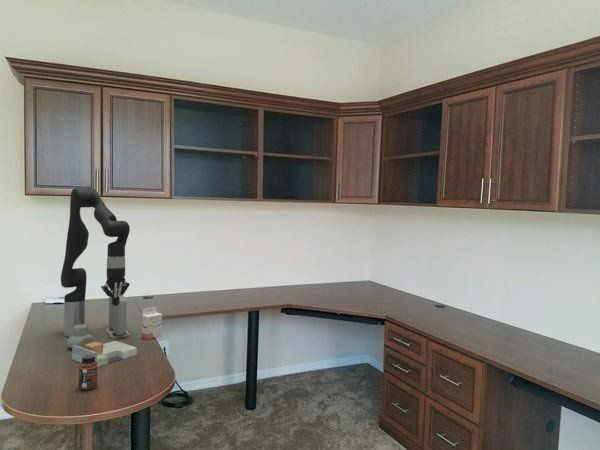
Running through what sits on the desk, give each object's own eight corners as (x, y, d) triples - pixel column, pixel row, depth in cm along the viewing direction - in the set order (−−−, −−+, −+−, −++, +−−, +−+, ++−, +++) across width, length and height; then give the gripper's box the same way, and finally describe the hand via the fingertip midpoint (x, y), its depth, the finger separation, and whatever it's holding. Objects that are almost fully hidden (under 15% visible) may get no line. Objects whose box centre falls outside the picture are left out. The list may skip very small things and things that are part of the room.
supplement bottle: (87, 392, 148) (87, 360, 148) (74, 388, 151) (74, 357, 150) (100, 385, 154) (101, 354, 154) (88, 382, 156) (88, 352, 156)
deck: (72, 359, 179) (72, 345, 178) (115, 347, 196) (115, 334, 195) (94, 368, 170) (94, 353, 170) (137, 354, 187) (137, 341, 187)
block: (84, 354, 177) (84, 344, 177) (95, 350, 181) (96, 341, 181) (91, 356, 174) (91, 346, 174) (103, 353, 179) (103, 343, 179)
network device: (104, 327, 226) (104, 290, 226) (121, 325, 231) (122, 289, 231) (112, 340, 205) (113, 299, 204) (131, 337, 210) (132, 297, 209)
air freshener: (75, 352, 187) (76, 330, 187) (63, 349, 191) (63, 327, 190) (97, 345, 197) (97, 324, 197) (84, 342, 201) (85, 321, 200)
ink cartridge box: (146, 340, 206) (147, 310, 206) (141, 338, 210) (141, 308, 209) (162, 336, 213) (162, 307, 213) (156, 334, 216) (157, 306, 216)
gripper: (124, 264, 193) (123, 301, 193) (96, 267, 182) (96, 307, 182) (134, 265, 189) (134, 304, 189) (107, 268, 177) (106, 309, 178)
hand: (115, 305), depth 186 cm, fingers closed
